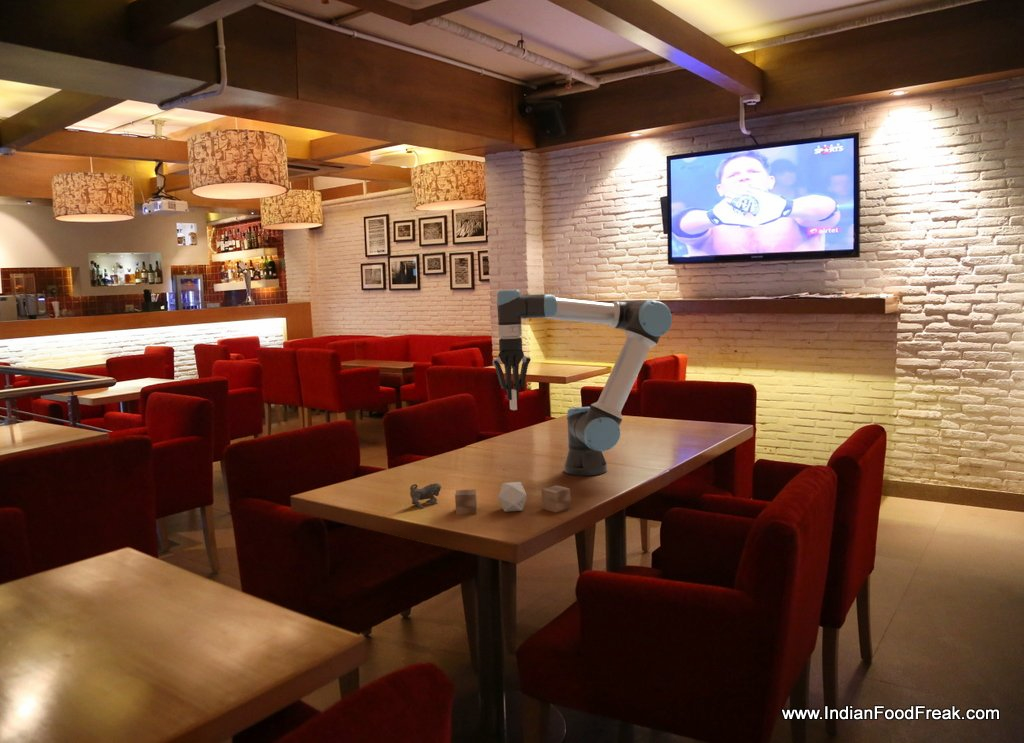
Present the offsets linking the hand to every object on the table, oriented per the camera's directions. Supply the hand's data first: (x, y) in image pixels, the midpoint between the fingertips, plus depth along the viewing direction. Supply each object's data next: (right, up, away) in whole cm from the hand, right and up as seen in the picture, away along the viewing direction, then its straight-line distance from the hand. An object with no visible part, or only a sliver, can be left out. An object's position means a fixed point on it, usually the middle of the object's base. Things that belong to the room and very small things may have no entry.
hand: (513, 409), depth 257 cm
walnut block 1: (-14, -30, -22) cm, 39 cm away
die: (0, -29, -22) cm, 37 cm away
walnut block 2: (+13, -29, -23) cm, 39 cm away
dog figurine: (-27, -29, -12) cm, 41 cm away
